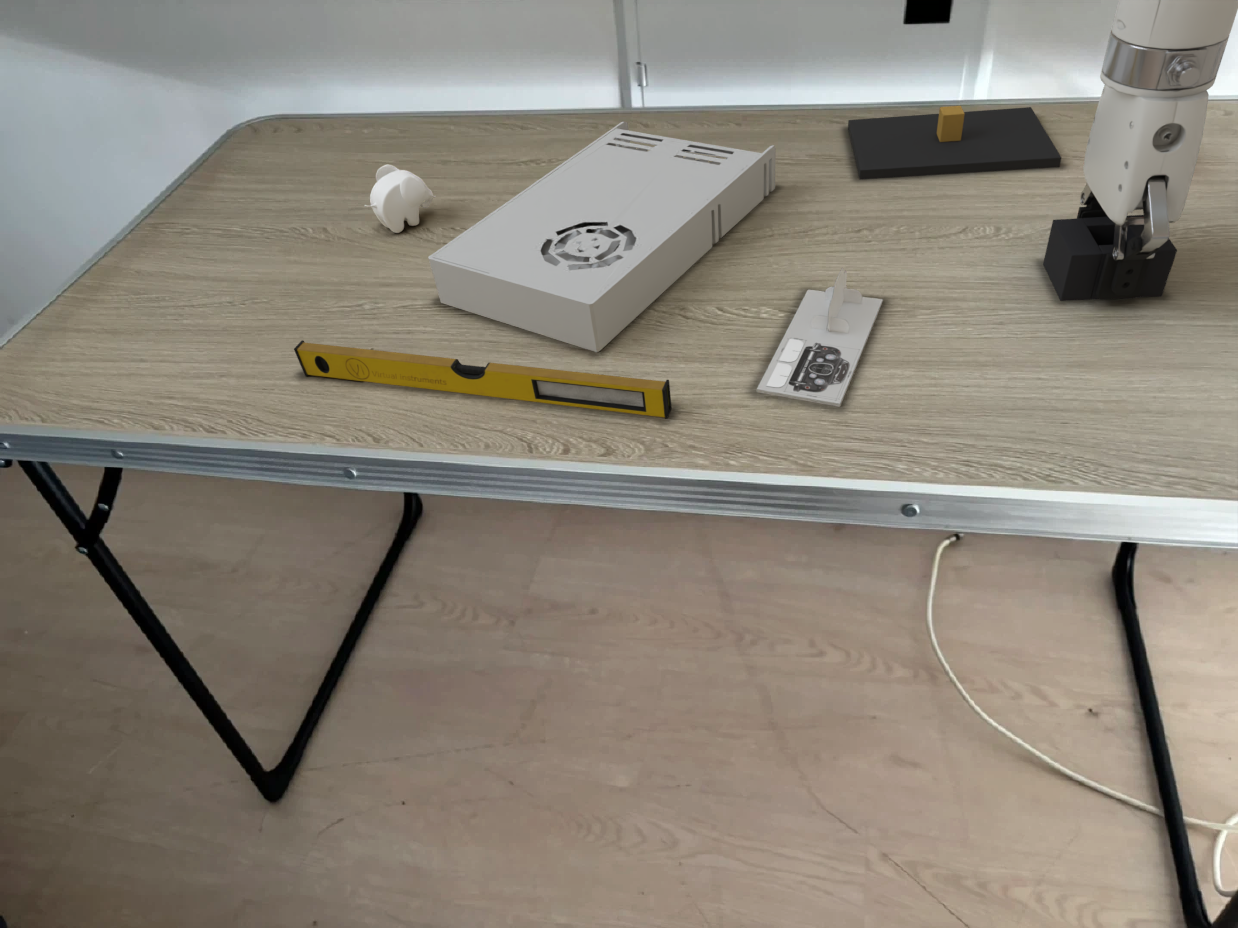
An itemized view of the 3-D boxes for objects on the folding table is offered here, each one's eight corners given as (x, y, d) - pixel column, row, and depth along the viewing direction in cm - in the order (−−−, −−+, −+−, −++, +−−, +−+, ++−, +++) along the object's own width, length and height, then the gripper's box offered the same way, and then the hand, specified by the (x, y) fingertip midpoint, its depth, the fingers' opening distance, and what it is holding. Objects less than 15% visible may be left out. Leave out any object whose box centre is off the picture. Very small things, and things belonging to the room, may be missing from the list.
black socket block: (1138, 260, 81) (1152, 213, 78) (1161, 298, 77) (1177, 249, 74) (1042, 265, 82) (1052, 219, 79) (1060, 302, 78) (1071, 255, 75)
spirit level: (305, 376, 82) (293, 348, 80) (313, 367, 83) (301, 340, 81) (667, 420, 72) (664, 390, 70) (672, 409, 73) (669, 379, 71)
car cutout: (807, 293, 83) (809, 248, 80) (882, 303, 81) (887, 257, 78) (756, 393, 73) (755, 347, 70) (840, 408, 71) (843, 361, 68)
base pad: (1029, 117, 104) (1036, 79, 102) (1059, 168, 95) (1068, 128, 92) (847, 129, 107) (849, 93, 104) (859, 180, 98) (862, 142, 95)
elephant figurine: (452, 219, 101) (440, 167, 97) (388, 247, 98) (372, 195, 94) (422, 200, 105) (409, 150, 101) (360, 227, 102) (344, 176, 98)
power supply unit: (776, 189, 98) (776, 143, 95) (599, 354, 79) (591, 304, 76) (629, 161, 107) (624, 119, 104) (439, 303, 88) (426, 257, 85)
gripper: (1269, 101, 60) (1186, 328, 72) (1174, 14, 73) (1117, 220, 85) (1146, 109, 61) (1084, 332, 73) (1074, 23, 74) (1031, 225, 86)
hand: (1102, 270), depth 79 cm, fingers open, 7 cm apart
